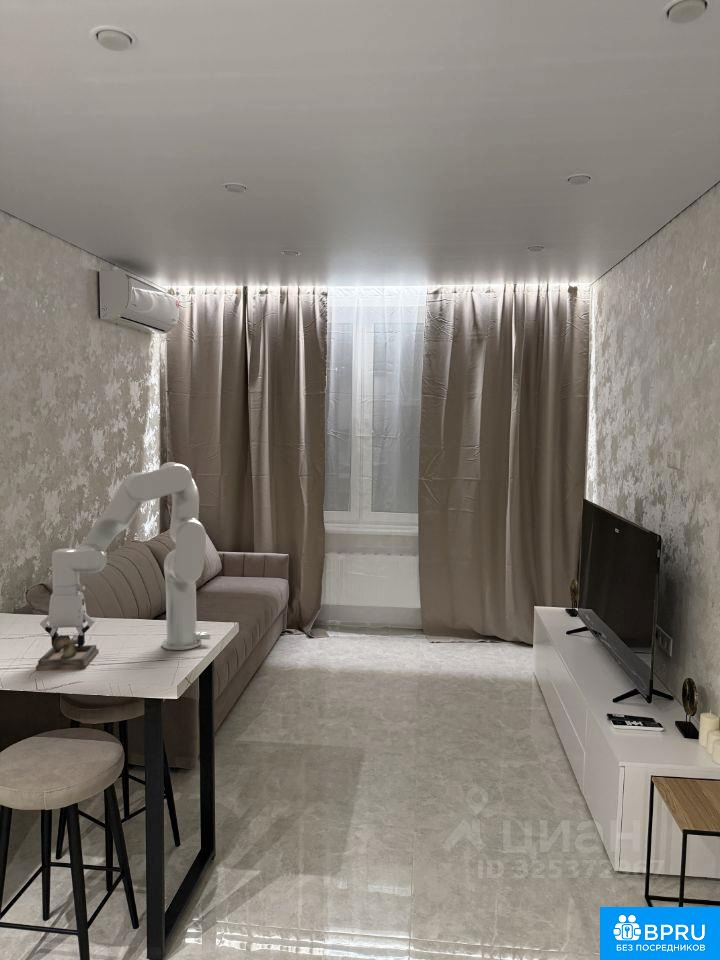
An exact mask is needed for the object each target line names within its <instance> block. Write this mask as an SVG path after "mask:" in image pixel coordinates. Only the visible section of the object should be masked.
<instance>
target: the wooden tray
mask: <svg viewBox="0 0 720 960" xmlns="http://www.w3.org/2000/svg"><path fill="white" fill-rule="evenodd" d="M76 646H77V647H78V644H76ZM62 648H63V647H61V648H56V649H53V646H52V647H51V648H50V649H49V650H48V651H47V652H46V653H45V654H44V655H43V656H41V658H39V659H38V660H37V665H36V666H35V671H58V670H60V671H62V670H86V669H87V668H88V666H89V665H90V664H91V663H92V661H94V659H95V658H96V657H97V656H98V654H99V652H100V651H99V648H97V644H88V645H87V644H84V645H83V646H82V647H81V648H78V650H77V653H76V655H75V656H74V657H73V658H69V659H66V660H62V659H61V658H60V657H61V656H62V655H63V653H64V652H65V651H64V652H63V653H62V654H60V651H61V650H62ZM59 654H60V655H59ZM90 662H91V663H90Z"/></svg>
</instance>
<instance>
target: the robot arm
mask: <svg viewBox="0 0 720 960" xmlns="http://www.w3.org/2000/svg"><path fill="white" fill-rule="evenodd" d="M169 495H171V499H172V500H171V506H172V507H171V518H170V525H169V538H170V539H171V540H172V542H173V543H174V544H175V546H174V549H172V550H171V551H169V553H167V555H166V557H165V558H164V562H163V571H164V572H163V574H164V579H165V580H164V581H165V603H166V604H165V607H166V608H165V609H166V610H165V611H166V639H164V640H163V641H162V643H161V647H162V648H163V649H166V650H170V651H186V650H190V649H195V648H198V647H199V646H201V645H202V643H203V640H204V641H205V640H211V633H208V632H206V631H205V632H201V631H199V630H200V629H199V627H198V628H197V584H196V582H197V581H198V580H199V579H200V577H201V576H202V573H203V571H204V565H205V557H206V556H205V555H206V546H207V532H206V529H205V527H204V525H203V524H202V523H201V522H200V521H199V516H200V515H199V512H200V511H199V510H200V494H199V488H198V486H197V483H196V481H195V480H194V478H193V476H192V471H191V470H190V468H189V467H188V466H186V465H185V464H182V463H177V462H174V461H169V462H164V463H162V465H161V466H160V467H159V469H156V470H152V471H148V472H144V473H141V472H132V473H130V474H128V475H127V476H126V477H125V479H123V481H122V483H121V484H120V486H119V488H118V489H117V491H116V492H115V494H114V495H113V497H112V499H111V501H110V502H109V503H108V506H107V507H106V509H104V512H103V513H102V514H101V515H100V516H99V519H97V521H96V522H95V523H94V525H93V526H92V527H91V528H90V530H89V531H88V533H87V535H86V536H85V538H84V539H83V541H82V543H81V544H80V546H79V548H78V550H77V549H76V548H71V547H70V548H69V547H68V548H67V547H65V548H59V549H55V550H54V551H53V552H52V554H51V568H52V569H51V570H52V574H51V575H52V594H50V597H49V598H50V600H49V606H48V615H47V616H46V617H45V618H44V619H43V620H42V621H41V622H40V623H39V625H40V627H41V628H43V629H44V630H45V632H47V634H49V636H50V637H51V646H52V645H53V642H54V640H55V639H56V638H57V637H59V636H60V635H59V633H58V630H59V629H60V628H75V629H76V631H77V632H78V633H77V634H78V644H77V645H78V648H81V647H82V646H83V645H86V644H85V643H86V641H85V633H86V632H87V631H89V629H90V628H91V627H92V626H93V625H94V624H95V622H96V621H95V620H94V619H93V618H92V617H90V615H88V614H87V607H86V602H85V597H84V592H81V591H84V590H85V589H86V587H85V585H82V584H81V581H80V573H99V572H101V571H102V570H103V569H105V568H106V565H107V562H108V558H107V555H106V550H107V549H108V548H109V546H110V544H111V543H112V542H113V540H114V539H115V537H116V536H117V535H118V534H120V533H121V532H123V531H125V529H127V528H128V527H129V526H130V525H131V523H132V522H133V520H134V519H135V517H136V515H137V513H138V512H139V511H140V508H141V507H142V505H143V504H144V502H149V501H152V500H157V499H160V498H163V497H165V496H169ZM85 623H87V624H86V626H84V624H85ZM53 649H54V648H53ZM55 649H56V648H55Z"/></svg>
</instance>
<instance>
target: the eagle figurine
mask: <svg viewBox="0 0 720 960" xmlns="http://www.w3.org/2000/svg"><path fill="white" fill-rule="evenodd" d="M78 635H79V634H78ZM78 635H77V634H73V636H72V638H71V637H70V635H69V634H67V635H63V634H62V635H61V634H60V635H59V637H57V638H56V639H55V640H54V642H53V645H52V644H51V646H52V647H53V648H54V649H55V648H61V647H63V648H62V650H61V651H60V654H62V653H63V652H64V651H65V652H64V653H63V655H62V656H61V657H60V658H61V659H62V660H66V659H69V658H73V657H74V656H75V655H76V653H77V650H78V647H77V645H78ZM60 654H59V655H60Z"/></svg>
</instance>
